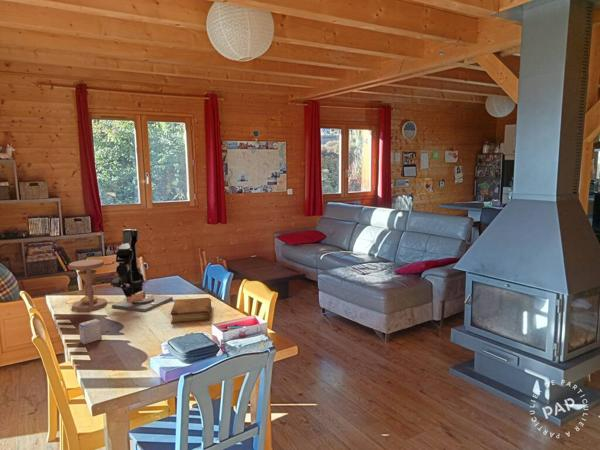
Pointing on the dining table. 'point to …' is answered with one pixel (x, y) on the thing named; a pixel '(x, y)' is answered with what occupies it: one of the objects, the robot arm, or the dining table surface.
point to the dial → (140, 298)
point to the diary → (191, 310)
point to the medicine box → (90, 331)
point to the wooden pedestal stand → (88, 285)
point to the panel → (143, 304)
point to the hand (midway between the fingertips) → (127, 298)
